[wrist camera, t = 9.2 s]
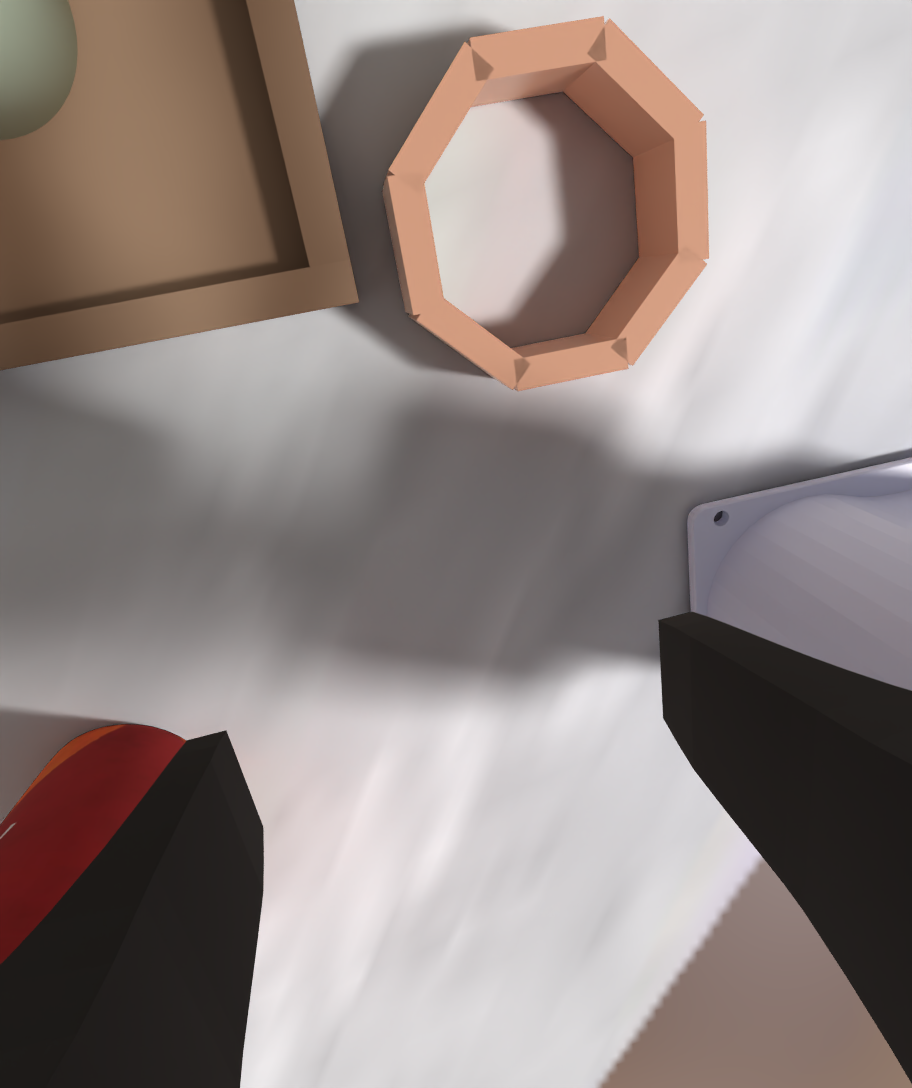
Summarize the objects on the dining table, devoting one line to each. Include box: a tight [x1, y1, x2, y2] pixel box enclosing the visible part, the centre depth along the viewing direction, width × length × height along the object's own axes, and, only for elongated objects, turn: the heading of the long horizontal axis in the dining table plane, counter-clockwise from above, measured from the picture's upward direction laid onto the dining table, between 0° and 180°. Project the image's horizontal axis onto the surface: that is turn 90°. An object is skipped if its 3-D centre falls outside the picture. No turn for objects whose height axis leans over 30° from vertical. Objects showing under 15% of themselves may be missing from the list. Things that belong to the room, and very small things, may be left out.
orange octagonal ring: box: [382, 16, 709, 391], centre depth 17 cm, size 8×8×2 cm
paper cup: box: [0, 724, 186, 964], centre depth 16 cm, size 8×8×14 cm
